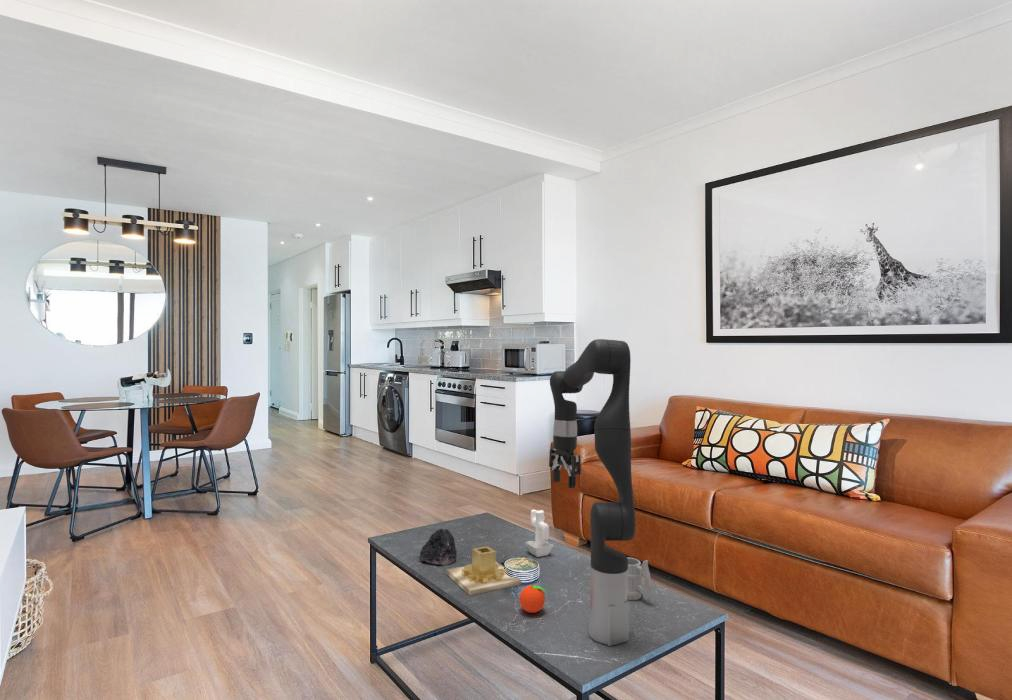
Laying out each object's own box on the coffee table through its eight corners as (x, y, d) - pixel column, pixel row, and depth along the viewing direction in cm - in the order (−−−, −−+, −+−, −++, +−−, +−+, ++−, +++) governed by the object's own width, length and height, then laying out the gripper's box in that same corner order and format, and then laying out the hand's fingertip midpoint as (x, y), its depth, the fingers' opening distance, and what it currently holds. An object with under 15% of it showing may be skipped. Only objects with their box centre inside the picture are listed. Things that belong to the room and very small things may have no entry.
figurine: (537, 560, 192) (538, 515, 192) (522, 551, 200) (524, 508, 200) (555, 556, 195) (556, 513, 195) (540, 548, 204) (541, 506, 204)
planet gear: (509, 578, 173) (510, 553, 173) (474, 585, 167) (474, 559, 167) (491, 564, 183) (492, 541, 183) (458, 570, 178) (458, 546, 178)
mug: (627, 587, 172) (628, 547, 172) (659, 601, 163) (660, 559, 163) (610, 593, 168) (611, 552, 168) (641, 608, 158) (642, 565, 158)
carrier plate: (520, 584, 172) (521, 558, 172) (469, 595, 164) (470, 568, 164) (494, 565, 187) (495, 541, 187) (446, 574, 179) (447, 548, 179)
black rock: (432, 572, 182) (436, 541, 182) (409, 556, 192) (413, 526, 192) (465, 565, 191) (469, 536, 191) (442, 550, 201) (446, 522, 201)
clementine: (549, 607, 158) (550, 581, 157) (547, 619, 151) (548, 592, 151) (521, 604, 159) (521, 579, 159) (517, 616, 152) (518, 589, 152)
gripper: (588, 436, 177) (586, 488, 177) (562, 430, 190) (561, 478, 190) (568, 438, 174) (566, 491, 174) (543, 431, 186) (542, 481, 186)
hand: (563, 484), depth 182 cm, fingers open, 8 cm apart
